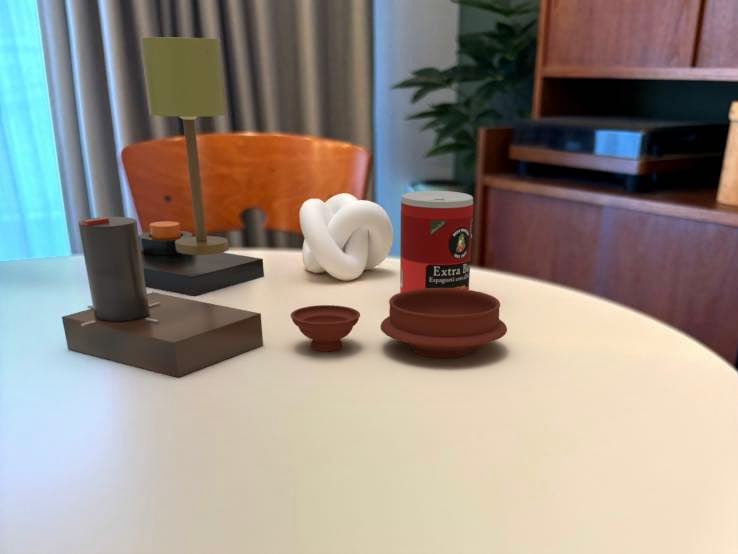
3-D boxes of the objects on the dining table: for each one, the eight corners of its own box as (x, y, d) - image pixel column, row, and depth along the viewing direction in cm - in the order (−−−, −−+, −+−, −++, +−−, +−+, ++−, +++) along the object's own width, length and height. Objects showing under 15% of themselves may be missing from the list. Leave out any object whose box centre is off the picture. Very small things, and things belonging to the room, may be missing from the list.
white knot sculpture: (361, 290, 96) (359, 208, 92) (273, 279, 101) (268, 200, 96) (401, 271, 105) (402, 196, 101) (319, 262, 110) (317, 189, 105)
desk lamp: (152, 251, 95) (123, 37, 84) (201, 240, 101) (180, 39, 90) (203, 259, 91) (180, 37, 81) (251, 248, 97) (235, 39, 86)
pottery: (511, 369, 73) (515, 319, 70) (284, 366, 73) (281, 316, 70) (499, 331, 83) (502, 286, 80) (300, 328, 83) (297, 283, 80)
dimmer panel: (55, 350, 75) (47, 316, 74) (153, 321, 84) (149, 289, 83) (169, 380, 69) (164, 343, 67) (263, 345, 78) (260, 311, 76)
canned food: (431, 313, 88) (435, 203, 83) (385, 298, 93) (385, 193, 88) (483, 302, 92) (489, 197, 87) (436, 288, 98) (439, 188, 92)
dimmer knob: (124, 304, 78) (109, 211, 74) (160, 312, 76) (147, 216, 72) (83, 315, 75) (65, 218, 70) (119, 324, 72) (103, 224, 68)
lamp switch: (145, 239, 103) (143, 224, 102) (166, 234, 106) (164, 220, 105) (166, 242, 101) (164, 227, 101) (187, 237, 104) (185, 223, 103)
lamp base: (96, 278, 100) (90, 243, 98) (170, 260, 109) (166, 228, 107) (194, 297, 93) (190, 260, 91) (265, 276, 102) (263, 242, 100)
